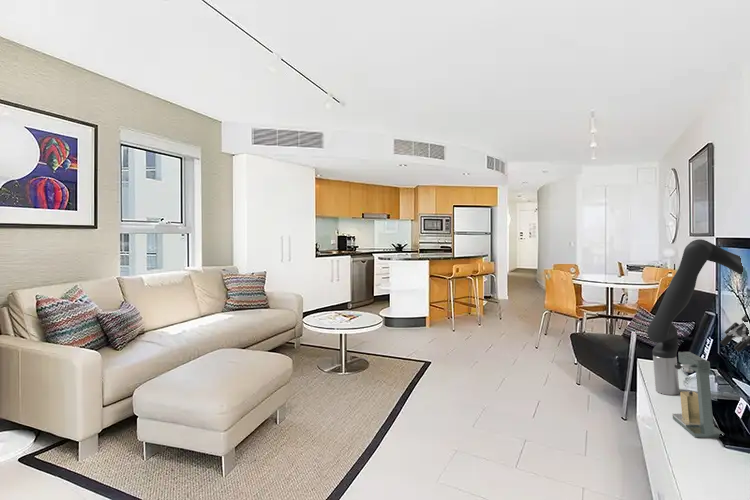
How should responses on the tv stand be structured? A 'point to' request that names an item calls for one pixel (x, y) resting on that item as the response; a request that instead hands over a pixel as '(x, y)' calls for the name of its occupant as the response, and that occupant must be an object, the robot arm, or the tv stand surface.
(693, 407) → the block
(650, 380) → the tv stand surface
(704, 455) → the tv stand surface
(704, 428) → the arbor press
